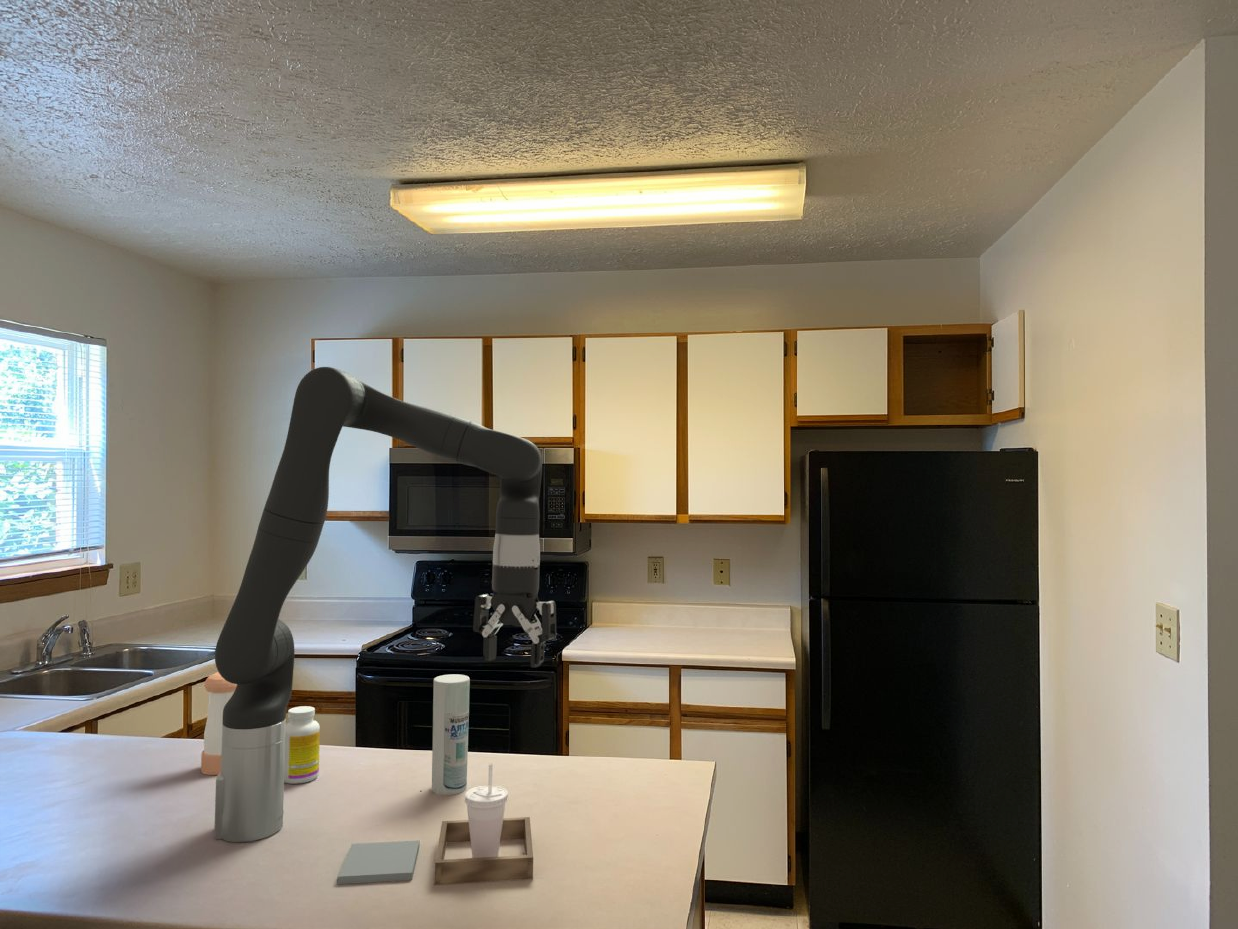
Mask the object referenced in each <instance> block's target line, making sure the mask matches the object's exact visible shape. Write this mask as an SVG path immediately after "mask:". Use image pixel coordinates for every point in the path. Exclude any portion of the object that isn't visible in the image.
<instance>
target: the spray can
mask: <svg viewBox="0 0 1238 929" xmlns="http://www.w3.org/2000/svg"><path fill="white" fill-rule="evenodd" d="M470 681H471V679H470V677H469V676H468V675H465V674H458V673H457V674H454V673H453V674H443V675H439V676H436V677H434V678H433V689H432V690H433V694H432V695H433V696H432V697H433V699H432V701H433V702H432V749H431V750H432V751H431V752H432V753H431V754H432V756H431V758H432V759H431V760H432V761H431V766H432V767H431V789H432V792H433V793H434V794H436V795H441V796H452V795H457V794H460V793H462V792H465V790H467V784H468V755H469V754H468V753H469V752H468V751H469V747H468V746H469V725H470V724H469V720H470V719H469V717H470V691H471V690H470V687H471V686H470V685H471V682H470Z"/></svg>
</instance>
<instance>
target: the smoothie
mask: <svg viewBox="0 0 1238 929" xmlns="http://www.w3.org/2000/svg"><path fill="white" fill-rule="evenodd" d="M493 767H494V766H493V763H488V783H487V784H488V785H479V786H475V787H472V788H470V789H468V790H467V791H466V792H465V794H464V803H465V804H466V807H467V808H466V809H467V815H468V816H467V818H468V819H467V820H469V829H470V839H471V841H470V847H471V848H470V849H471V856H472V857H471V858H483V857H499V850H500V844H501V840H500V838H501V831H502V824H503V818H505V816H504V815H505V810H506V809H505V808H506V803H507V802H508V800H509V797H508V793H509V792H508V790H507V789H506V788H504V787H503V786H498V785H493Z"/></svg>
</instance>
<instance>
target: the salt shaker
mask: <svg viewBox="0 0 1238 929" xmlns="http://www.w3.org/2000/svg"><path fill="white" fill-rule="evenodd" d="M236 686H237V684H233V683H230V682H228V681H226V680H225V679H224V678H223V677H222V676H221V675H220V673H219V672H218V671H217V672H215V673H213V674H211V675H209V676H208V677H207V678H206V679H205V682H204V689H205V690H206V692H208V706H207V707H208V708H207V717H206V722H205V727H204V733H203V750H202V752H201V759H200V760H201V761H200V762H201V763H200V772H201V774H204V775H206V776H207V775H209V776H210V775H211V776H218V775H219V774H220V773H221V755H222V721H223V709H224V706H225V705H226V703H227V702H228V701H229V699H230V698H231V697H232V695H233V693H234V691H235V689H236Z"/></svg>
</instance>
